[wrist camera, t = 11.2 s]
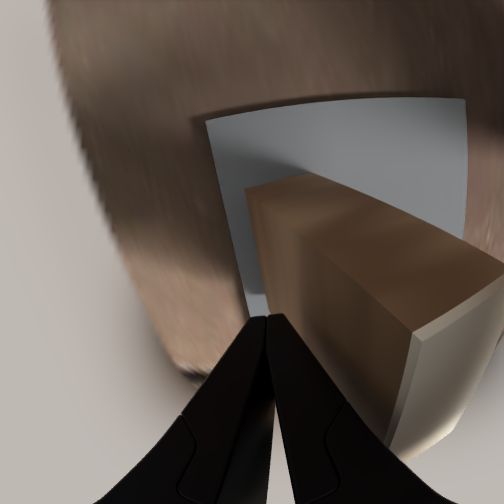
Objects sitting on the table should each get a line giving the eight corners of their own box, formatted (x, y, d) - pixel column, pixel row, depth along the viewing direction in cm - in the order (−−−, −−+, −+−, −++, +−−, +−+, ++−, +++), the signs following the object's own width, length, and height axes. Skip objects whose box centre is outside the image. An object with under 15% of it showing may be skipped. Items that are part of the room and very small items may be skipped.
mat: (456, 98, 9) (464, 99, 9) (445, 301, 14) (450, 308, 13) (208, 119, 10) (205, 120, 10) (256, 335, 15) (256, 343, 14)
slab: (312, 172, 11) (519, 272, 4) (323, 290, 13) (452, 431, 6) (244, 188, 10) (421, 341, 3) (268, 309, 12) (375, 481, 5)
